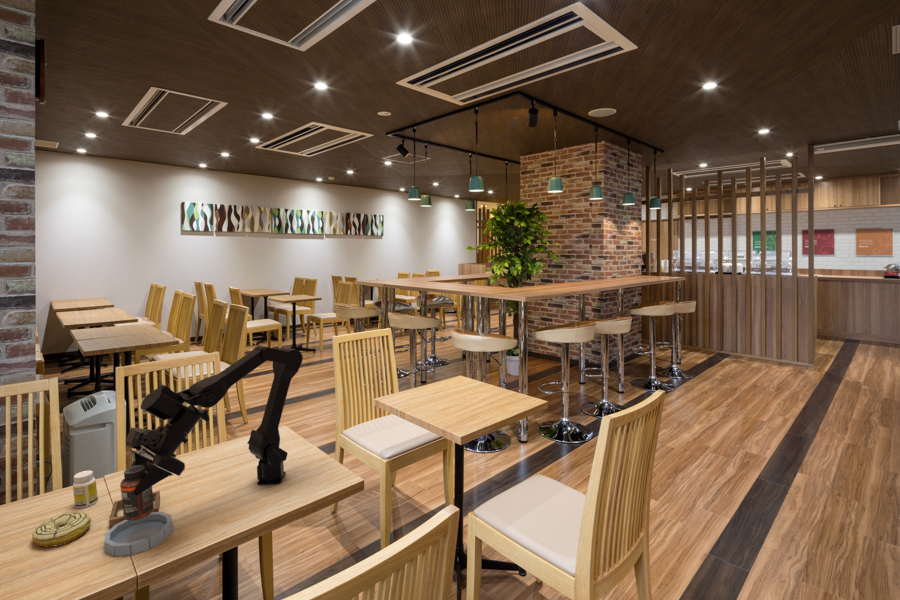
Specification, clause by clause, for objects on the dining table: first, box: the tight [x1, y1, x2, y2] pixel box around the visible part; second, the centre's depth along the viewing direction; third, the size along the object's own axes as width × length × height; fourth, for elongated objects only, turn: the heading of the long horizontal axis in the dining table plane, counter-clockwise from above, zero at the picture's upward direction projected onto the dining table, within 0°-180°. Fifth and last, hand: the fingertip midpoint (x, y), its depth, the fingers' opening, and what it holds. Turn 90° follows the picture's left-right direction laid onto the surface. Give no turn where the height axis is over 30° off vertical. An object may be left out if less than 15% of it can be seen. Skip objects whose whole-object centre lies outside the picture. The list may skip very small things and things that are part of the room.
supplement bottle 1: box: [72, 470, 99, 509], centre depth 120 cm, size 5×5×8 cm
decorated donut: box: [31, 511, 92, 547], centre depth 107 cm, size 10×11×4 cm
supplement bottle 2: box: [119, 465, 155, 521], centre depth 105 cm, size 6×6×11 cm
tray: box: [108, 490, 161, 530], centre depth 116 cm, size 10×10×2 cm
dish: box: [103, 511, 174, 557], centre depth 106 cm, size 13×13×2 cm
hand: (129, 490), depth 104 cm, fingers closed on supplement bottle 2, 6 cm apart
